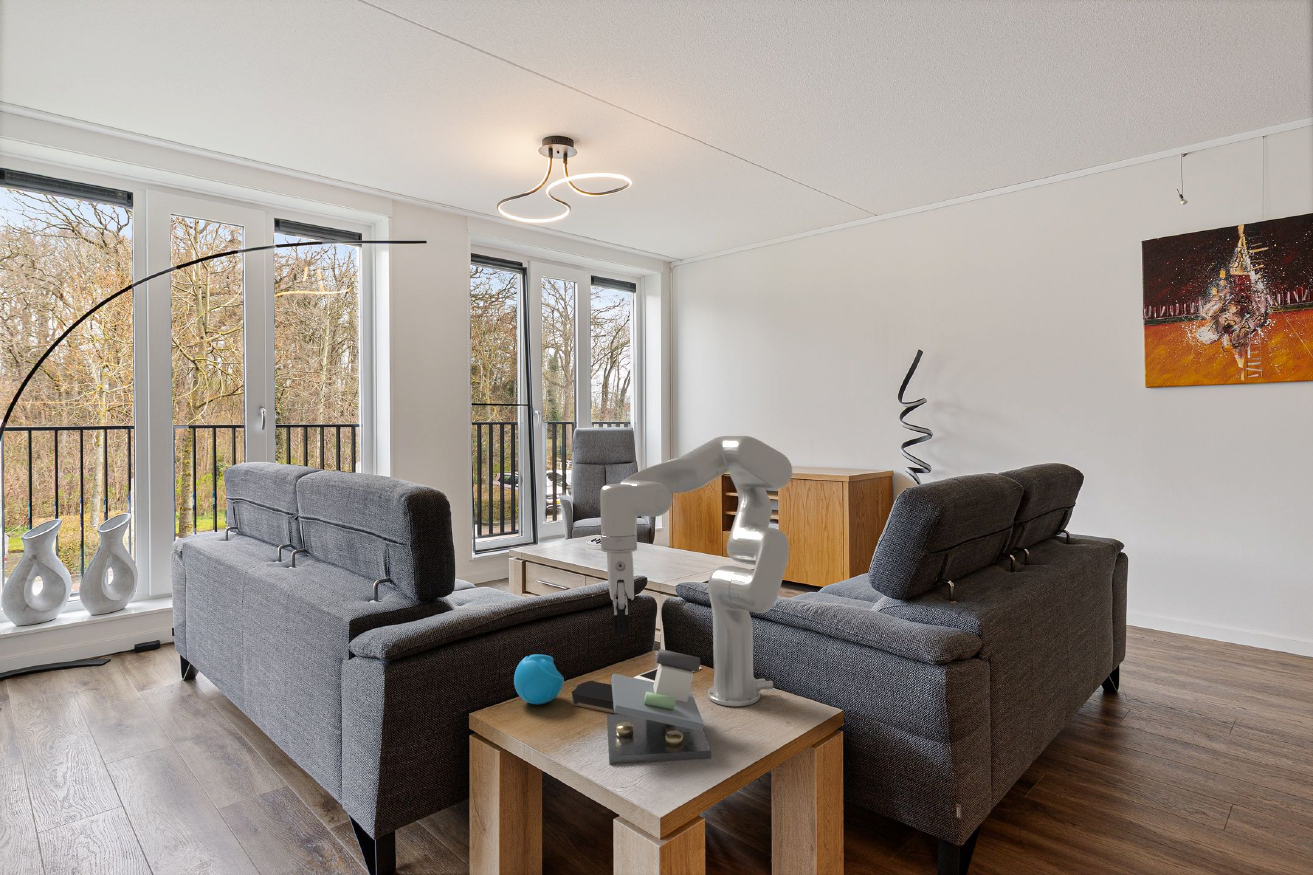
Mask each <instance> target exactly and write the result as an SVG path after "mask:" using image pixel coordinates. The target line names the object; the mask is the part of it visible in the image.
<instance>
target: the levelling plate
mask: <svg viewBox="0 0 1313 875" xmlns="http://www.w3.org/2000/svg"><path fill="white" fill-rule="evenodd" d="M655 660H656V662H655V663H656V664H658V666H657V668H658V670H657V674H656V678H655V682H651V681H646V680H641V679H637V678H634V677H631V676H627V675H622V674H618V673H612V676H611V685H612V694H613V706H614V713H618V714H623V715H627V716H632V717H637V718H642V719H646V720H651V721H656V722H661V723H665V724H670V725H675V726H680V727H684V728H689V729H694V730H699V731H702V730H703V728H704V725H705V723H704V720H703V718H702V716H701V713H700V711H699V708H698V705H697V702H696V700H695V698H694V695H693V693H692V690H691V688H692V685H693V680H694V674H695V673H697V672H698V673H699V671H700V670H699V667H701V658H700V657H697V656H693V655H689V654H685V653H679V652H675V651H671V650H666V649H662V648H659V649H658V651H657V654H656V659H655ZM698 670H699V671H698ZM693 671H695V672H694V673H693ZM614 713H613V714H614ZM703 731H704V730H703Z"/></svg>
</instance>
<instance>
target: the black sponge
mask: <svg viewBox="0 0 1313 875" xmlns="http://www.w3.org/2000/svg"><path fill="white" fill-rule="evenodd" d="M571 695H572V696H571V704H572V705H573V706H574V707H575V706H577V707H581V708H587V709H590V710H595V711H596V710H597V711H601V712H605V713H610V714H618V713H614V706H613V694H612V684H609V683H606V682H605V683H604V682H600V681H599V682H598V681H595V680H588V681H585V682H582V683H579V684H578V685H577V686H576V687H575V688H574V689H573V690H572V691H571Z"/></svg>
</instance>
